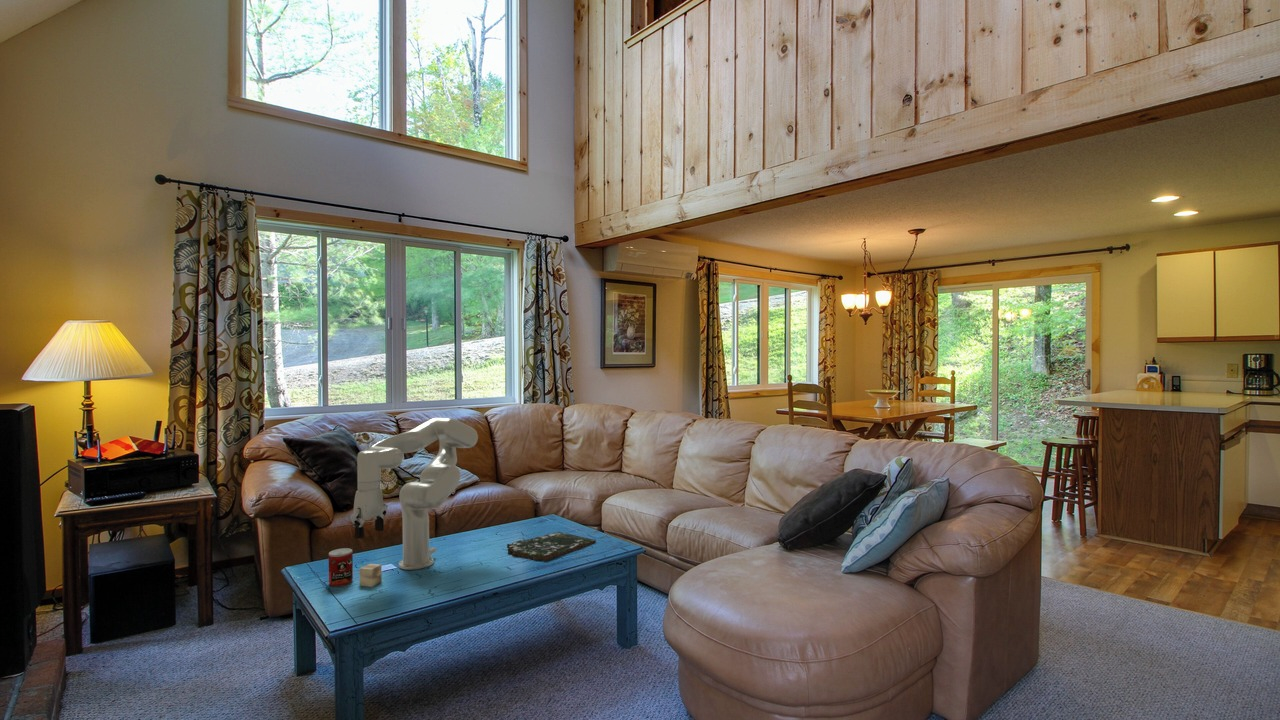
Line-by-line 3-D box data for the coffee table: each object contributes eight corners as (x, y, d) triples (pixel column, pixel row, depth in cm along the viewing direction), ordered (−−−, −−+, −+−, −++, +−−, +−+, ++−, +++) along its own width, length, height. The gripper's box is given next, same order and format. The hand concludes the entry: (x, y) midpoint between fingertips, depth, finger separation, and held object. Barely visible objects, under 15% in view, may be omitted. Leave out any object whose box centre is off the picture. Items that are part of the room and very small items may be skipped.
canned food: (329, 588, 209) (329, 556, 209) (327, 581, 216) (327, 550, 216) (354, 583, 213) (353, 552, 213) (351, 577, 220) (351, 546, 220)
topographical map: (595, 543, 258) (595, 536, 258) (539, 565, 232) (539, 557, 232) (552, 533, 273) (552, 527, 273) (495, 552, 247) (495, 545, 247)
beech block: (369, 580, 216) (369, 563, 216) (381, 581, 215) (381, 564, 215) (359, 585, 211) (359, 568, 211) (371, 586, 210) (371, 569, 210)
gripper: (377, 480, 222) (378, 527, 222) (341, 490, 206) (342, 540, 206) (394, 481, 220) (395, 528, 220) (360, 491, 204) (360, 542, 204)
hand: (369, 534), depth 213 cm, fingers open, 9 cm apart
